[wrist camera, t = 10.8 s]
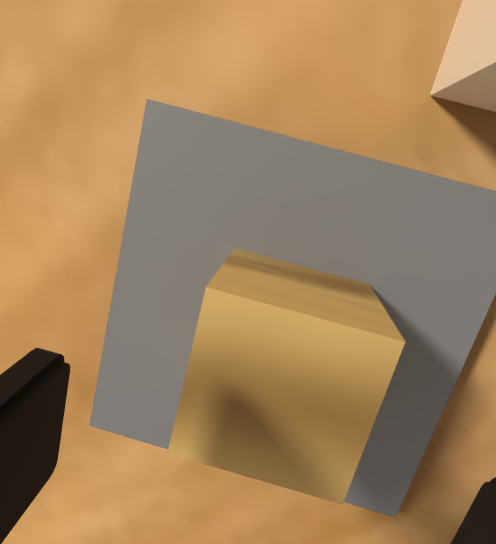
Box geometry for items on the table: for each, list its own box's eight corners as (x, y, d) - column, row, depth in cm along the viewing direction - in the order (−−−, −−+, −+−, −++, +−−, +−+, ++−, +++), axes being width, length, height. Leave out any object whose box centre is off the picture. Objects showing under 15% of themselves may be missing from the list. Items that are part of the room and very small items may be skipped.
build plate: (156, 103, 18) (146, 98, 17) (520, 199, 17) (536, 202, 16) (100, 412, 22) (89, 425, 21) (390, 498, 22) (395, 517, 20)
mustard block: (234, 247, 18) (205, 287, 12) (369, 284, 18) (405, 342, 12) (205, 368, 20) (167, 452, 14) (328, 402, 19) (342, 504, 14)
